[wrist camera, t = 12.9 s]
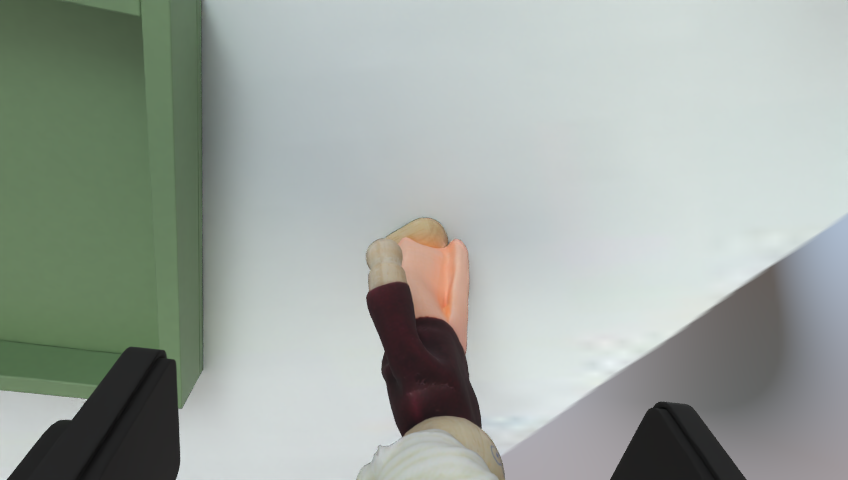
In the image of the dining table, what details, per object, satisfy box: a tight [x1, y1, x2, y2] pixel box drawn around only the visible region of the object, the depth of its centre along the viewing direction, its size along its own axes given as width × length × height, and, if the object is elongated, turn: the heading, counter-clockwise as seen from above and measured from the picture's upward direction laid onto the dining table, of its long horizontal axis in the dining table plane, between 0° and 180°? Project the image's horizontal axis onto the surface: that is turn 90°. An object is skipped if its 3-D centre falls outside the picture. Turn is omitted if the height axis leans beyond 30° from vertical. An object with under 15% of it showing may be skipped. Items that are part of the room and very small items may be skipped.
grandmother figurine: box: [356, 218, 505, 480], centre depth 14 cm, size 8×4×13 cm, turn 29°
